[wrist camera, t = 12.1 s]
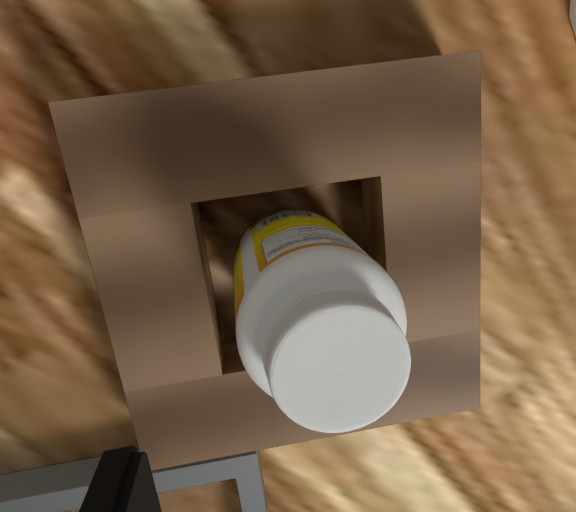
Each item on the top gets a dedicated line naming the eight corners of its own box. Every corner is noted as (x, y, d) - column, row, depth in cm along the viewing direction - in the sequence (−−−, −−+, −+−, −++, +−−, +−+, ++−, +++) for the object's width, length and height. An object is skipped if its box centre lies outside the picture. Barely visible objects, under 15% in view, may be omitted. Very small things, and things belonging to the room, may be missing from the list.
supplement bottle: (295, 336, 23) (342, 492, 13) (208, 269, 21) (191, 389, 12) (371, 255, 22) (480, 357, 13) (287, 179, 21) (338, 229, 11)
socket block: (450, 375, 25) (480, 408, 22) (155, 429, 23) (145, 471, 21) (445, 60, 20) (481, 50, 17) (75, 105, 19) (47, 102, 16)
